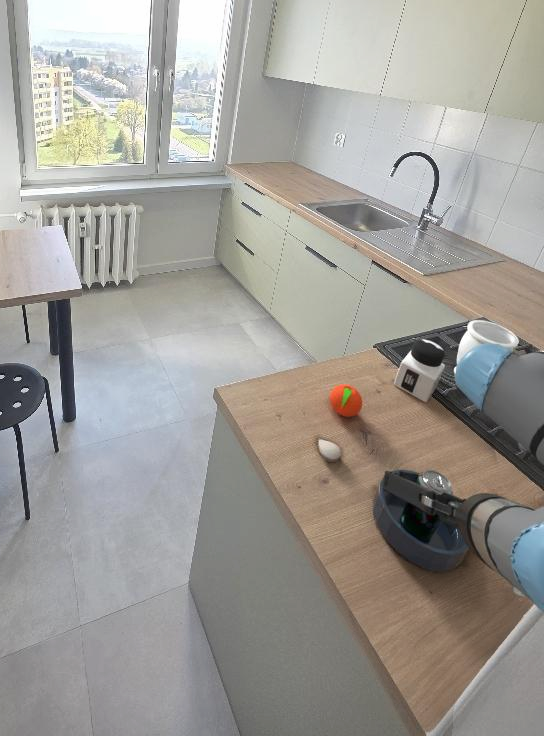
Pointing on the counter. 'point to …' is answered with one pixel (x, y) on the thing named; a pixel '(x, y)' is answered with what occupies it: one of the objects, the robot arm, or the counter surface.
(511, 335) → the jar
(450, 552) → the bowl
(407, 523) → the soda can
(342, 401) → the clementine
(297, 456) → the counter surface
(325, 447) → the garlic clove
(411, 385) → the container
